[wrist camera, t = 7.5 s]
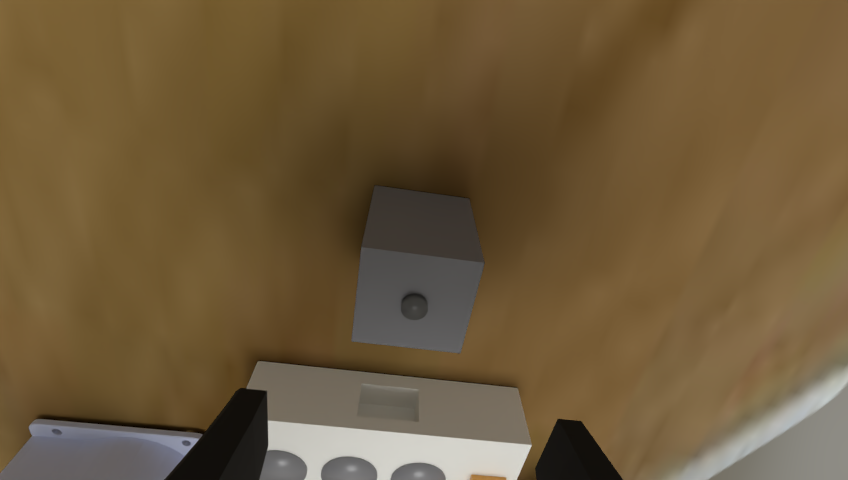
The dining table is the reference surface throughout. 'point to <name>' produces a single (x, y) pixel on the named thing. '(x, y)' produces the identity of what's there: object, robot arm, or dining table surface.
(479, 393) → the power strip
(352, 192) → the dining table surface
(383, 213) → the block
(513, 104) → the dining table surface
